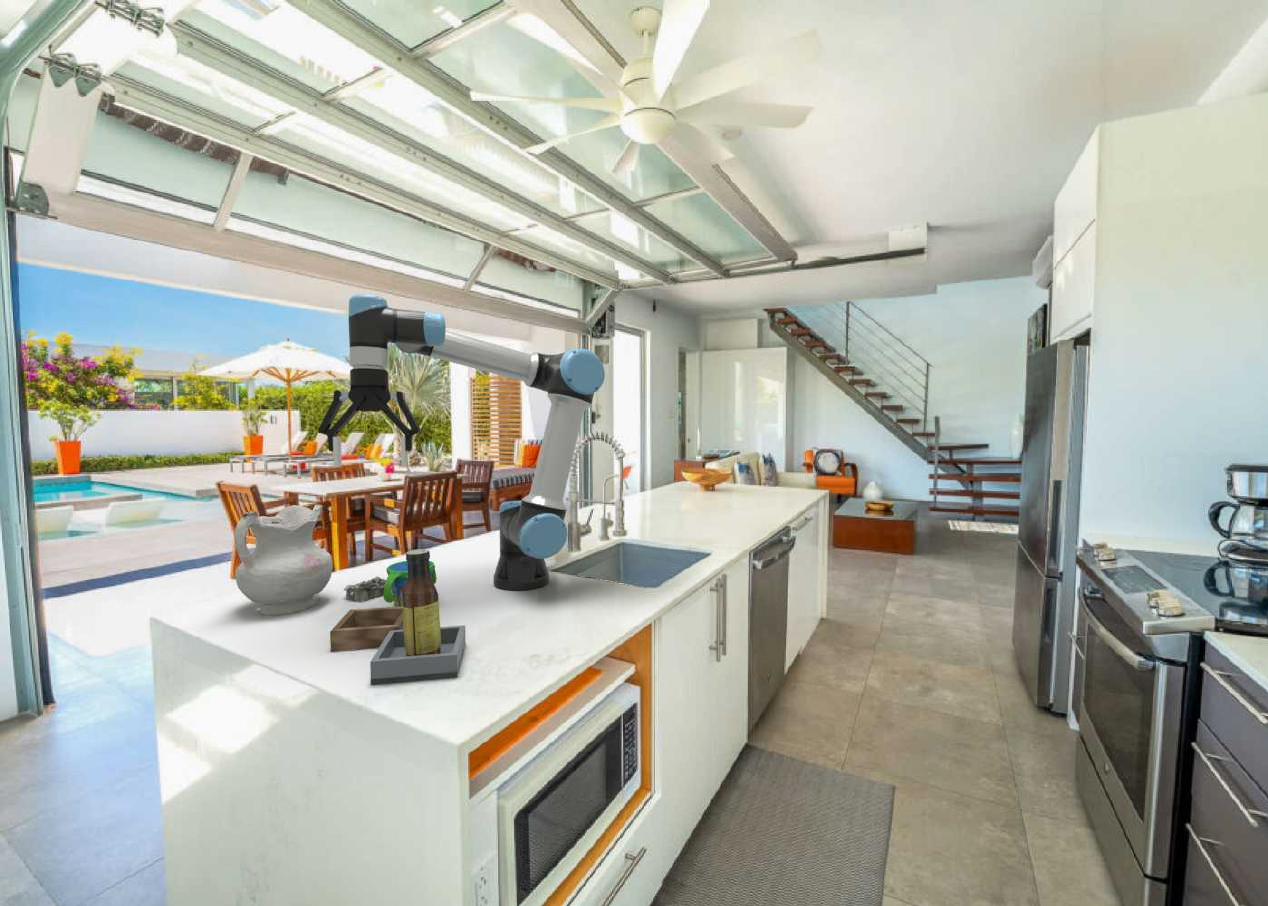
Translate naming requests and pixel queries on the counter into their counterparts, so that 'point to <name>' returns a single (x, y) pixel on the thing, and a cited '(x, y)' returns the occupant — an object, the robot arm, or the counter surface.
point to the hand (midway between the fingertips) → (371, 466)
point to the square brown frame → (365, 628)
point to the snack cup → (400, 581)
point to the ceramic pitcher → (282, 560)
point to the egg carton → (365, 590)
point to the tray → (418, 658)
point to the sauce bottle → (420, 607)
